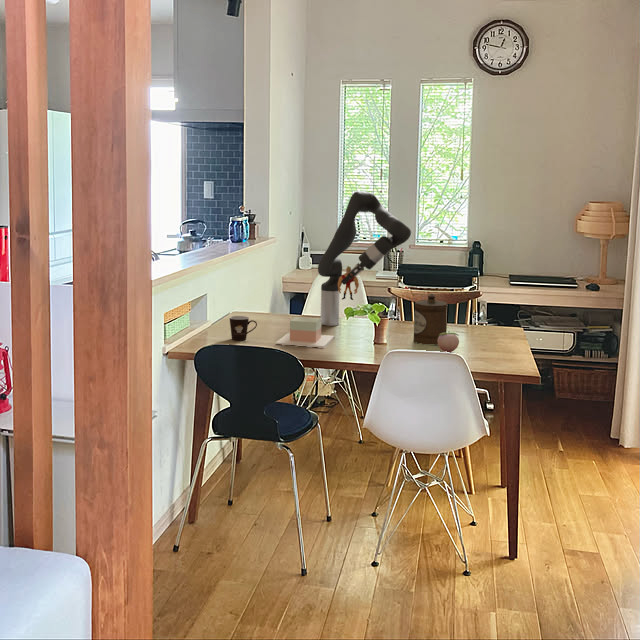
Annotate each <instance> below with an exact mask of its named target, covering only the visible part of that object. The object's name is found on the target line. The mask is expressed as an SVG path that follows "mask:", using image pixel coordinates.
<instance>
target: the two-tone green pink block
mask: <svg viewBox="0 0 640 640" xmlns="http://www.w3.org/2000/svg"><path fill="white" fill-rule="evenodd" d="M334 339H335V335H328V334H327V335H324V334H322V324H321V318H320V317H319V318H318V317H308V316H307V317H305V316H295V317H293V318H292V319H291V320H289V332H287V333H286V334H285V335H283V336H282V337H281V338H279V339H278V340H277V341H275V344H282V345H281V346H285V345H298V346H307V347H306V348H312V347H318V348H317V349H325V348H326V347H327V346H328V345H329V344H330V343H331V342H332V341H334ZM298 346H297V347H298Z"/></svg>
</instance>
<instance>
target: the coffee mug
mask: <svg viewBox="0 0 640 640" xmlns="http://www.w3.org/2000/svg"><path fill="white" fill-rule="evenodd" d="M252 322H253V323H255V326H254V327H253V328H252V329H250V330H249V331H248V326H249V325H250V323H252ZM229 325H230V336H231V340H232V341H234V342H245V341H246V340H247V336H248V334H249V333H251V332H253V331H254V330H255V329H256V328H257V326H258V323H257V321H256V320H253V319H251V320H249V316H246V315H245V316H244V315H233V316H230V317H229Z"/></svg>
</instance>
